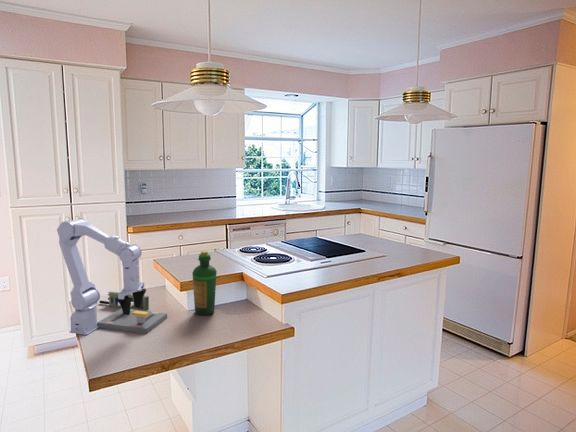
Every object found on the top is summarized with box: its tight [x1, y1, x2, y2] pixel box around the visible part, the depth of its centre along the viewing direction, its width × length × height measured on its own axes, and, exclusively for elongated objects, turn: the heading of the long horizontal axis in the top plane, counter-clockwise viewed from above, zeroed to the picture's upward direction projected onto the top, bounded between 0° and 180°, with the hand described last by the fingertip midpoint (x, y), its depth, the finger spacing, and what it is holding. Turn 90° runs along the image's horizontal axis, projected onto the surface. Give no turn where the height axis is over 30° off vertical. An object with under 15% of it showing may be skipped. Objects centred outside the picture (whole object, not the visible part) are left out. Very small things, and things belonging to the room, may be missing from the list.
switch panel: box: [97, 308, 168, 334], centre depth 167 cm, size 16×22×2 cm
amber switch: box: [132, 311, 149, 324], centre depth 161 cm, size 2×6×4 cm, turn 78°
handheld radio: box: [98, 291, 150, 311], centre depth 183 cm, size 7×3×25 cm
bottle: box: [192, 250, 218, 316], centre depth 177 cm, size 11×11×28 cm
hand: (132, 310), depth 155 cm, fingers open, 7 cm apart
